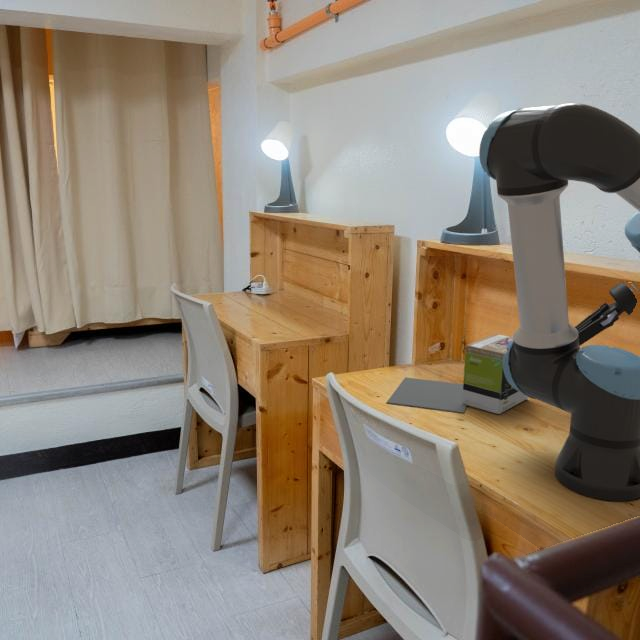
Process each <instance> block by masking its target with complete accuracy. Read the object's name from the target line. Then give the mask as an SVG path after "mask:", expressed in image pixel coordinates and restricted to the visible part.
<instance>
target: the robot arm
mask: <svg viewBox="0 0 640 640" xmlns="http://www.w3.org/2000/svg"><path fill="white" fill-rule="evenodd" d="M478 153H479V154H478V155H479V162H480V163H479V164H480V165H481V169H482V170H483V171H484V173H486V174H487V176H488V177H489V178H491V179H493V180H494V181H496V192H497V196H498V197H499V198H501V199H502V200H503V201H505V203H506V204H507V212H508V220H509V229H510V230H509V231H510V240H511V241H510V242H511V251H512V261H513V270H514V278H515V290H516V300H517V308H518V312H517V313H518V319H519V321H518V323H519V327H518V328H517V330H515V331H514V333H513V334H512V337H513V340H512V341H511V342H510V343H509V344H508V346H507V348H506V349H507V350H508V351H507V353H504V357H503V370H504V374H505V377H506V379H507V381H508V382H509V384H510V385H511V386H512V387H513V388H514V389H516V390H517V391H519V392H521V393H522V394H524V395H526V396H528V399H529V398H530V399H532V400H537V401H540V402H542V403H545V404H547V405H549V406H552V407H555V408H556V409H559V410H560V411H564V412H566V413H570V414H571V415H570V423H569V424H570V425H569V433H568V436H567V438H566V440H565V442H564V444H563V446H562V447H561V450H560V452H559V454H558V455H557V458H556V461H555V469H554V476H555V478H556V479H557V480H558V482H559V483H561V484H562V485H563V486H565V487H566V488H567V489H570V490H571V491H573V492H575V493H577V494H581V495H583V496H586V497H588V498H593V499H598V500H602V499H604V500H605V501H609V500H611V502H627V501H628V500H630V501H635V500H634V499H636V500H638V499H637V498H639V497H640V356H639V355H637V354H635V353H633V352H631V351H628V350H626V349H622V348H619V347H615V346H613V347H611V346H609V345H604V344H603V345H602V344H589V345H584V344H585V343H587V342H588V341H590V340H591V339H592V338H594V337H596V336H598V335H599V334H600V333H602V332H603V331H605V330H606V329H609V328H610V327H612V326H614V324H615V323H616V322H617V321H619V319H620V316H621V315H622V314H623V313H624V312H626V314H627V315H628V316H629V315H630V314H631V313H632V312H633V309H634V308H635V306H636V303H637V299H636V298H635V295H634V294H633V292H632V291H633V290H632V289H631V288H629V287H627V286H626V285H625V283H624V282H625V281H623V283H622V281H620V282H621V283H620V284H618V283H617V284H615V285H614V286H612V288H610V289H609V290H608V293H609V294H610V296H611V298H612V300H615V301H616V302H614V303H612V304H610V305H608V304H607V303H608V302H603V303H602V304H600V305H601V306H600V305H599V306H600V308H599V309H597V308H596V309H597V310H596V309H595V310H596V311H595V310H594V311H595V312H594V311H593V313H592V312H591V313H592V314H591V313H590V314H591V315H590V314H589V315H588V316H586V317H585V318H583V320H581V321H580V322H579V323H578V324H577V325H576V326H573V325H572V324H571V323H570V322H569V310H568V294H567V283H566V280H567V279H566V272H565V271H566V266H565V257H564V256H565V254H564V241H563V240H564V239H563V227H562V225H563V224H562V214H561V212H562V211H561V200H560V196H561V194H562V193H563V192H564V191H565V190H566V188H567V187H568V186H569V181H576V182H581V183H585V184H586V183H587V184H590V185H593V186H595V188H597V189H599V191H601V192H603V193H607V194H616V195H618V196H619V197H620V198H621V199H623V200H624V201H625V202H626V203H628V204H629V205H631V206H632V207H633V208H635V210H638V211H637V212H635V213H633V215H631V217H630V218H629V219H628V220H627V222H626V224H625V226H624V234H625V237H626V238H627V240H628V241H629V243H630V244H631V246H632V247H633V248H634V249H635V250H637V252H638V253H639V254H640V132H638V131H637V130H636V129H635V128H633V127H632V126H630V125H629V124H628V123H627V122H624V121H623V120H622V119H619V118H618V117H616V116H615V115H613V114H611V113H609V112H607V111H604V110H602V109H600V108H598V107H595V106H592V105H590V104H589V105H588V104H584V103H577V102H573V103H571V102H570V103H562V104H558V105H557V104H556V105H547V106H535V107H525V108H517V109H515V110H510V111H506V112H502V113H501V114H499V115H498V116H496V117H495V118H494V119H492V121H491V122H490V123H489V124H488V127H487V129H486V130H485V131H484V132H483V133H482V137H481V140H480V143H479V152H478ZM628 283H632V282H628ZM631 286H632V288H633V289H634V290H636V291H638V289H637V288H636V287H635V286H634V285H633V284H631ZM582 345H584V346H582ZM581 346H582V347H581ZM639 499H640V498H639ZM604 500H603V501H604Z"/></svg>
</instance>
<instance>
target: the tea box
mask: <svg viewBox="0 0 640 640" xmlns="http://www.w3.org/2000/svg"><path fill="white" fill-rule="evenodd" d="M512 340H513V336H508V335H502V334H498V333H496V334H492V335H489V336H487V337H485V338H481V339H478V340H477V341H474V342H472V343H468V344H466V345H465V352H464V353H465V355H464V367H463V382H462V384H463V395H462V403H463V404H465V405H467V406H469V407H472V408H475V409H478V410H483V411H486V412H489V413H493V414H496V415H497V414H498V415H500V414H502V413H504V412H506V411H507V410H509V409H511V408H513V407H515V406H516V405H518V404H520V403H521V402H524V401H526V400H527V399H529V397H528V396H526V395H524V394H522V393H521V392H519V391H517V390H516V389H514V388H513V387H512V386H511V385H510V384H509V382H508V381H507V379H506V377H505V374H504V370H503V357H504V353H507V351H508V350H507V349H506V348H507V346H508V344H509V343H510V342H511V341H512Z"/></svg>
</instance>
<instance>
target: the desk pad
mask: <svg viewBox="0 0 640 640" xmlns="http://www.w3.org/2000/svg"><path fill="white" fill-rule="evenodd" d="M462 395H463V383H457V382H448V381H440V380H430V379H421V378H413V377H404V378H403V380H402V381H401V382H400V383H399V385H398V387H396V389H395V390H394V391H393V393H392V394H391V396H390V397H389V398H388V400H386V404H388V403H390V405H395V404H396V405H398V406H405V407H412V408H421V409H426V410H428V409H429V410H434V411H442V412H450V413H456V414H457V413H458V414H465V411H466V408H467V406H468V405H465V404H463V403H462Z"/></svg>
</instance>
